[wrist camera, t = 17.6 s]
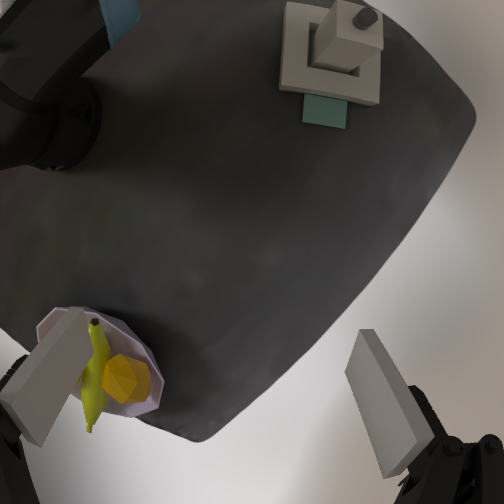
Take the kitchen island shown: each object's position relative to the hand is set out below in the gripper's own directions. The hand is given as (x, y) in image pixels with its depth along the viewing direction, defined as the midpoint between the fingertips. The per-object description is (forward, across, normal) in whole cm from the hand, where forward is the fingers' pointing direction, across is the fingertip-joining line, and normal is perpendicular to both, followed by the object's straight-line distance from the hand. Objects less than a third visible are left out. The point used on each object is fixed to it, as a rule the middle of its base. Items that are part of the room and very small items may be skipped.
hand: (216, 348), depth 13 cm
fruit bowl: (+29, -24, -29) cm, 48 cm away
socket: (+29, +11, +22) cm, 38 cm away
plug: (+28, +11, +24) cm, 38 cm away
